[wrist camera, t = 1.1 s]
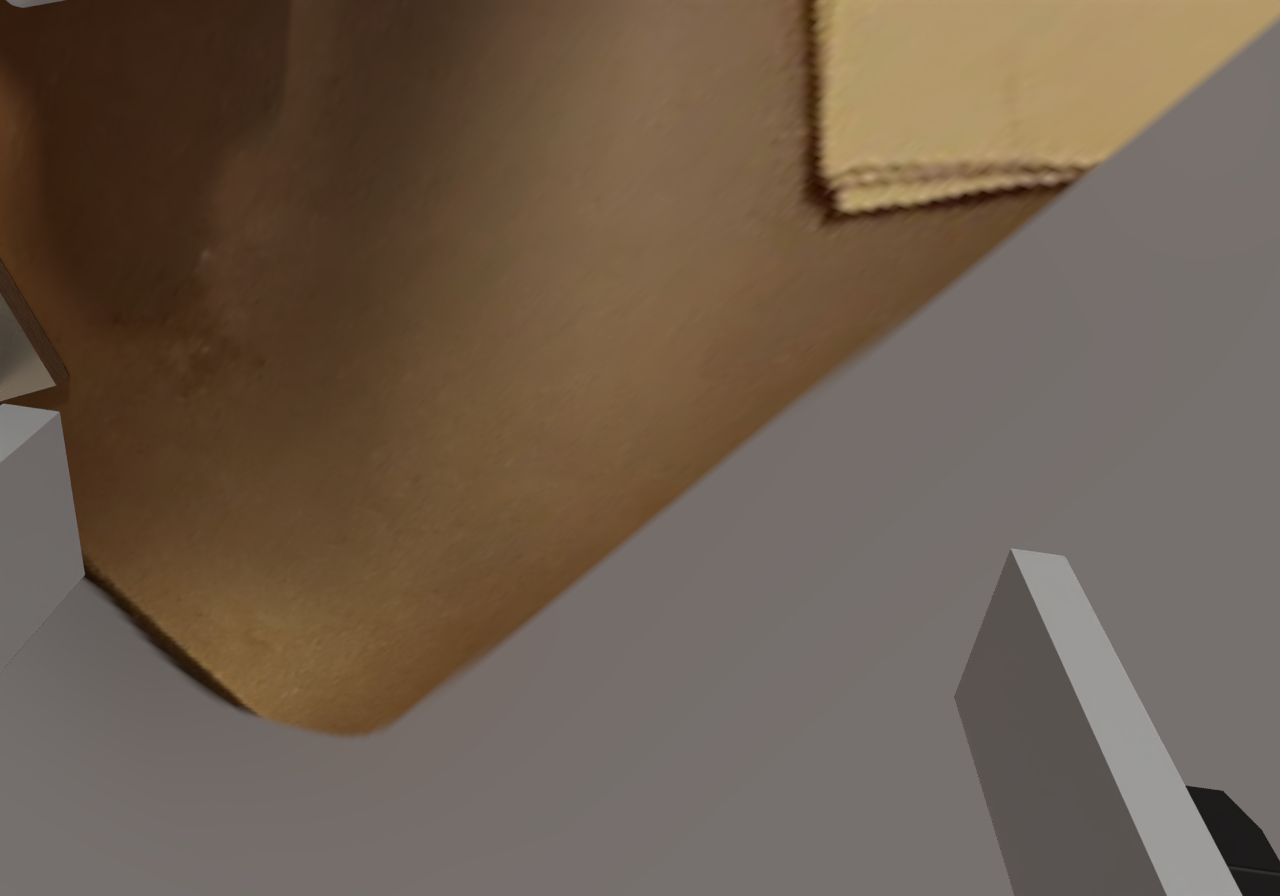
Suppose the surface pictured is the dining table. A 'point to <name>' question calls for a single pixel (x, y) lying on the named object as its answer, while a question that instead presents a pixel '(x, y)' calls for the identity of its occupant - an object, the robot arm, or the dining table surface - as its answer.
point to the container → (30, 2)
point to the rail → (23, 346)
